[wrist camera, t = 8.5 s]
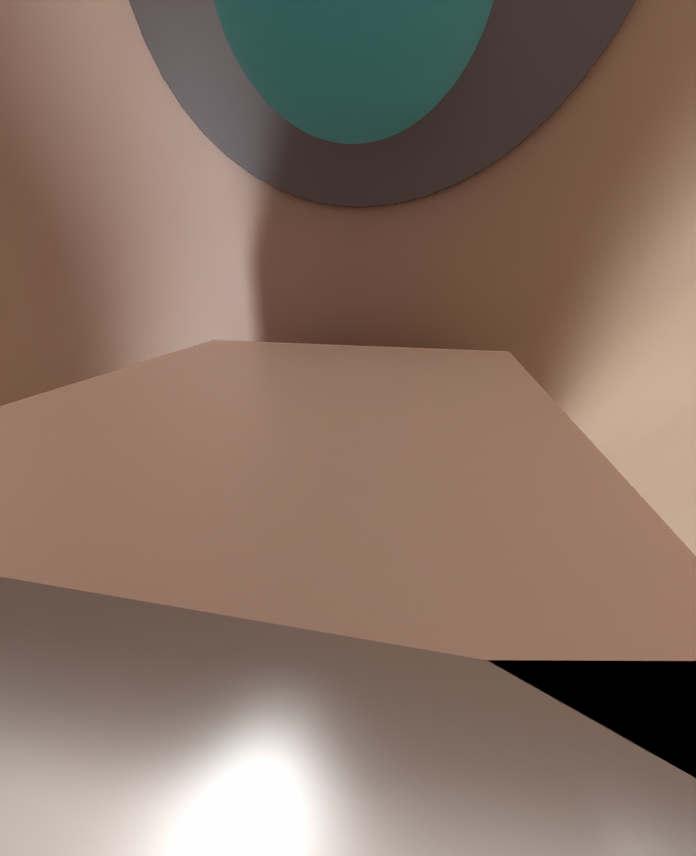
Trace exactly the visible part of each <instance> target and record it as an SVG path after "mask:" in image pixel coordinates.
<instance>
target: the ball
mask: <svg viewBox="0 0 696 856" xmlns="http://www.w3.org/2000/svg"><path fill="white" fill-rule="evenodd" d="M493 1H494V0H213V2H214V5H215V8H216V11H217V14H218V17H219V20H220V23H221V26H222V29H223V32H224V34H225V37H226V39H227V41H228V43H229V45H230V48H231V50H232V52H233V54H234V56H235V58H236V60H237V61H238V63H239V65H240V67H241V68H242V70H243V72H244V73H245V75H246V76H247V78H248V80H249V81H250V83H251V84H252V85H253V86H254V88H255V89H256V90H257V91H258V93H259V94H260V95H261V96H262V97H263V99H264V100H265V101H266V102H267V104H268V105H270V106H271V107H272V108H273V109H274V110H275V111H276V112H277V113H278V114H280V115H281V116H282V117H283V118H284V119H285V120H286V121H288V122H289V123H291V124H293V125H294V126H296V127H297V128H299V129H301V130H302V131H304V132H306V133H308V134H310V135H312V136H315V137H317V138H321V139H324V140H328V141H331V142H336V143H342V144H361V143H369V142H374V141H378V140H382V139H385V138H388V137H390V136H393V135H395V134H398V133H400V132H401V131H403V130H405V129H407V128H409V127H410V126H411V125H413V124H414V123H416V122H417V121H419V120H420V119H421V118H423V117H424V116H425V115H426V114H427V113H429V112H430V111H431V110H432V109H433V108H434V107H435V106H436V105H437V104H438V103H439V102H440V101H441V99H442V98H443V97H444V96H445V95H446V94H447V93H448V91H449V90H450V89H451V88H452V87H453V85H454V84H455V82H456V81H457V79H458V78H459V77H460V75H461V73H462V72H463V70H464V69H465V67H466V65H467V64H468V62H469V60H470V58H471V56H472V54H473V53H474V51H475V49H476V46H477V44H478V42H479V40H480V38H481V35H482V33H483V31H484V28H485V25H486V23H487V20H488V17H489V14H490V11H491V8H492V5H493Z"/></svg>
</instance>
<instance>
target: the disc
mask: <svg viewBox="0 0 696 856" xmlns="http://www.w3.org/2000/svg"><path fill="white" fill-rule="evenodd" d="M129 1H130V4H131V7H132V9H133V12H134V15H135V17H136V20H137V22H138V25H139V27H140V30H141V33H142V35H143V38H144V40H145V43H146V45H147V47H148V49H149V51H150V53H151V55H152V57H153V59H154V61H155V63H156V65H157V67H158V69H159V71H160V73H161V75H162V77H163V78H164V80H165V81H166V83H167V84H168V86H169V88H170V89H171V91H172V92H173V94H174V95H175V97H176V98H177V100H178V102H179V103H180V105H181V106H182V108H183V109H184V110H185V111H186V113H187V114H188V115H189V116H190V118H191V119H192V120H193V121H194V122H195V124H196V125H197V126H198V127H199V129H200V130H201V131H202V132H203V134H204V135H205V136H207V137H208V138H209V139H210V140H211V141H212V142H213V143H214V144H215V145H216V146H217V147H218V148H219V149H220V150H221V151H222V152H223V153H224V154H225V155H226V156H227V157H229V158H230V159H231V160H233V161H234V162H236V163H237V164H238V165H240V166H241V167H242V168H244V169H245V170H246V171H248V172H249V173H250V174H252V175H254V176H255V177H257V178H259V179H261V180H263V181H265V182H267V183H268V184H270V185H272V186H274V187H276V188H278V189H280V190H282V191H285V192H288V193H290V194H293V195H296V196H298V197H301V198H304V199H307V200H311V201H316V202H320V203H325V204H330V205H335V206H353V207H371V206H381V205H391V204H397V203H401V202H405V201H409V200H413V199H417V198H421V197H425V196H428V195H431V194H433V193H436V192H438V191H441V190H443V189H446V188H448V187H451V186H453V185H456V184H458V183H460V182H461V181H463V180H465V179H467V178H469V177H470V176H472V175H474V174H476V173H478V172H479V171H481V170H483V169H485V168H486V167H488V166H490V165H491V164H493V163H494V162H495V161H497V160H498V159H499V158H501V157H502V156H504V155H505V154H506V153H508V152H509V151H510V150H512V149H513V148H515V147H516V146H517V145H519V144H520V143H521V142H522V141H523V140H524V139H526V138H527V137H528V136H529V135H530V134H531V133H532V132H533V131H534V130H535V129H537V128H538V127H539V126H540V125H541V124H542V123H543V122H544V121H545V120H546V119H547V118H549V117H550V116H551V115H552V114H553V113H554V111H555V110H556V109H557V108H558V107H559V106H560V105H561V104H562V102H563V101H564V100H565V99H566V98H567V97H568V96H569V95H570V93H571V92H572V91H573V90H574V89H575V88H576V87H577V85H578V84H579V83H580V82H581V81H582V80H583V79H584V77H585V76H586V75H587V73H588V72H589V70H590V69H591V68H592V66H593V65H594V64H595V62H596V61H597V59H598V58H599V57H600V55H601V54H602V52H603V51H604V50H605V48H606V47H607V46H608V44H609V43H610V41H611V40H612V39H613V37H614V36H615V34H616V33H617V31H618V29H619V28H620V26H621V24H622V23H623V21H624V19H625V17H626V16H627V14H628V12H629V11H630V9H631V7H632V6H633V4H634V2H635V0H494V1H493V5H492V8H491V11H490V14H489V17H488V20H487V23H486V25H485V28H484V31H483V33H482V35H481V38H480V40H479V42H478V44H477V46H476V49H475V51H474V53H473V54H472V56H471V58H470V60H469V62H468V64H467V65H466V67H465V69H464V70H463V72H462V73H461V75H460V77H459V78H458V79H457V81H456V82H455V84H454V85H453V87H452V88H451V89H450V90H449V91H448V93H447V94H446V95H445V96H444V97H443V98H442V99H441V101H440V102H439V103H438V104H437V105H436V106H435V107H434V108H433V109H432V110H431V111H430V112H429V113H427V114H426V115H425V116H424V117H423V118H421V119H420V120H419V121H417V122H416V123H414V124H413V125H411V126H410V127H409V128H407V129H405V130H403V131H401V132H400V133H398V134H395V135H393V136H390V137H388V138H385V139H382V140H378V141H374V142H369V143H361V144H342V143H336V142H331V141H328V140H324V139H321V138H317V137H315V136H312V135H310V134H308V133H306V132H304V131H302V130H301V129H299V128H297V127H296V126H294V125H293V124H291V123H289V122H288V121H286V120H285V119H284V118H283V117H282V116H281V115H280V114H278V113H277V112H276V111H275V110H274V109H273V108H272V107H271V106H270V105H268V104H267V102H266V101H265V100H264V99H263V97H262V96H261V95H260V94H259V93H258V91H257V90H256V89H255V88H254V86H253V85H252V84H251V83H250V81H249V80H248V78H247V76H246V75H245V73H244V72H243V70H242V68H241V67H240V65H239V63H238V61H237V60H236V58H235V56H234V54H233V52H232V50H231V48H230V45H229V43H228V41H227V39H226V37H225V34H224V32H223V29H222V26H221V23H220V20H219V17H218V14H217V11H216V8H215V5H214V2H213V0H129Z"/></svg>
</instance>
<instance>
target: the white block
mask: <svg viewBox="0 0 696 856" xmlns="http://www.w3.org/2000/svg"><path fill="white" fill-rule="evenodd" d="M0 856H696V556H695V555H694V554H693V553H692V552H691V551H690V550H689V548H688V547H687V546H686V545H685V544H684V543H683V542H682V541H681V540H680V539H679V537H678V536H677V535H676V534H675V533H674V532H673V531H672V530H671V529H670V528H669V526H668V525H667V524H666V523H665V522H664V521H663V520H662V519H661V518H660V517H659V515H658V514H657V513H656V512H655V511H654V510H653V509H652V508H651V507H650V506H649V504H648V503H647V502H646V501H645V500H644V499H643V498H642V497H641V496H640V495H639V493H638V492H637V491H636V490H635V489H634V488H633V487H632V486H631V485H630V484H629V482H628V481H627V480H626V479H625V478H624V477H623V476H622V475H621V474H620V473H619V472H618V470H617V469H616V468H615V467H614V466H613V465H612V464H611V463H610V462H609V461H608V459H607V458H606V457H605V456H604V455H603V454H602V453H601V452H600V451H599V450H598V448H597V447H596V446H595V445H594V444H593V443H592V442H591V441H590V440H589V439H588V437H587V436H586V435H585V434H584V433H583V432H582V431H581V430H580V429H579V428H578V426H577V425H576V424H575V423H574V422H573V421H572V420H571V419H570V418H569V417H568V415H567V414H566V413H565V412H564V411H563V410H562V409H561V408H560V407H559V406H558V404H557V403H556V402H555V401H554V400H553V399H552V398H551V397H550V396H549V395H548V394H547V392H546V391H545V390H544V389H543V388H542V387H541V386H540V385H539V384H538V383H537V381H536V380H535V379H534V378H533V377H532V376H531V375H530V374H529V373H528V372H527V370H526V369H525V368H524V367H523V366H522V365H521V364H520V363H519V362H518V361H517V359H516V358H515V357H514V356H513V355H512V354H511V353H510V352H509V351H491V350H465V349H438V348H412V347H385V346H359V345H332V344H306V343H279V342H253V341H226V340H212V341H209V342H206V343H203V344H199V345H196V346H193V347H190V348H186V349H183V350H180V351H177V352H174V353H170V354H167V355H164V356H161V357H157V358H154V359H151V360H148V361H144V362H141V363H138V364H135V365H131V366H128V367H125V368H122V369H118V370H115V371H112V372H109V373H105V374H102V375H99V376H96V377H92V378H89V379H86V380H83V381H79V382H76V383H73V384H70V385H66V386H63V387H60V388H57V389H53V390H50V391H47V392H44V393H40V394H37V395H34V396H31V397H28V398H24V399H21V400H18V401H15V402H11V403H8V404H5V405H2V406H0Z"/></svg>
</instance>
